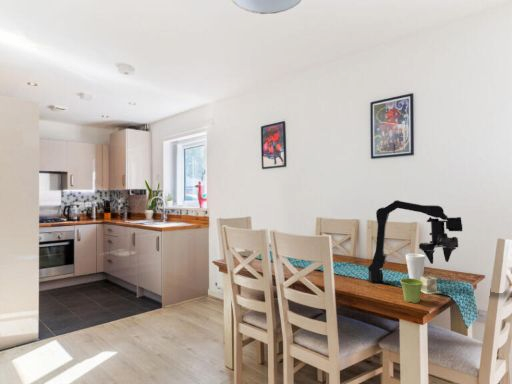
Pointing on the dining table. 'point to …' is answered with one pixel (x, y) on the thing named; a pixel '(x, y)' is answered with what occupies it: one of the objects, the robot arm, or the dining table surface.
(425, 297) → the dining table surface
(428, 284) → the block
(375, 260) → the robot arm
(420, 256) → the foam cup
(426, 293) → the pad
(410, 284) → the plant pot
